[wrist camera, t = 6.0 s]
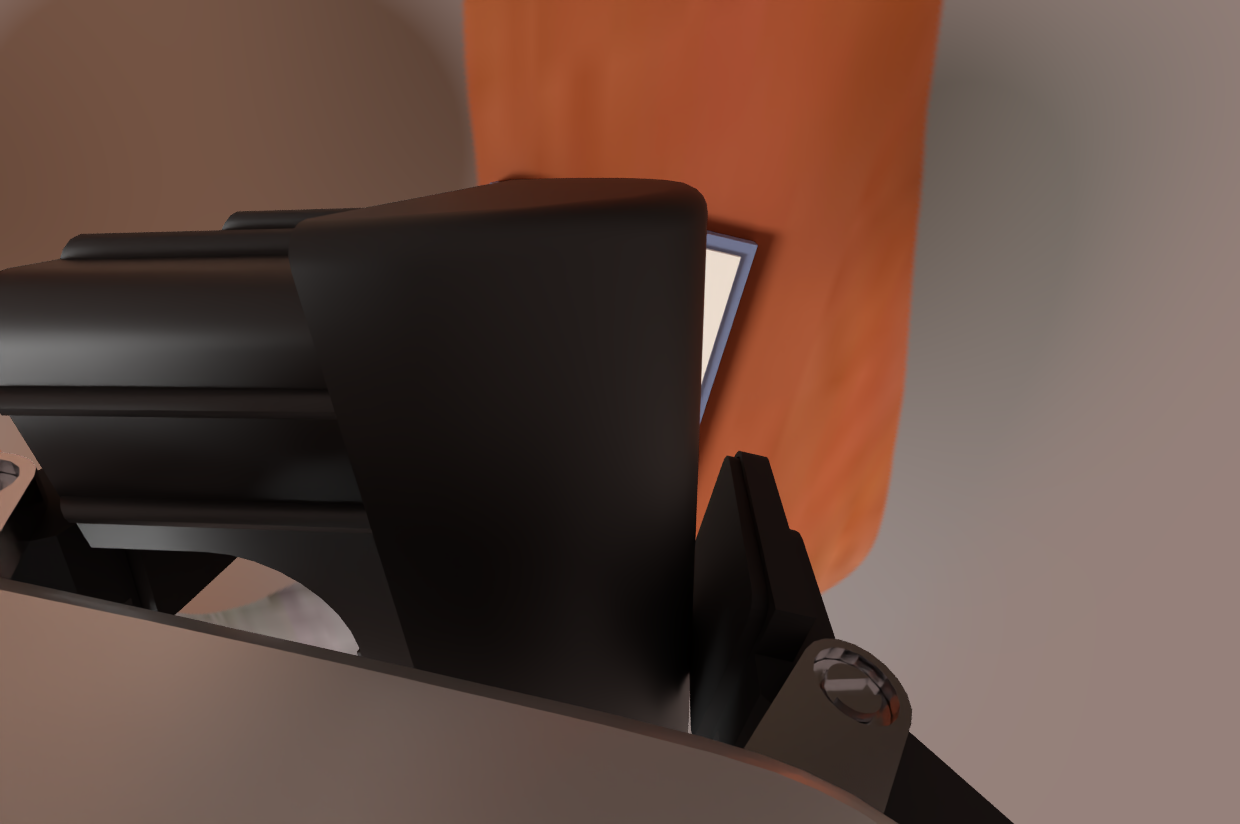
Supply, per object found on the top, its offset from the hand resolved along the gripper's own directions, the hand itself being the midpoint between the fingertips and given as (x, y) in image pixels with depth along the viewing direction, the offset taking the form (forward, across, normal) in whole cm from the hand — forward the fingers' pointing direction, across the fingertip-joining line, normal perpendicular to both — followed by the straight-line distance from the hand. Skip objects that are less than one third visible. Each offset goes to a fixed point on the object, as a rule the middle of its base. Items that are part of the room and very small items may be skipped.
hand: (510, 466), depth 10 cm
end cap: (+2, 0, 0) cm, 2 cm away
